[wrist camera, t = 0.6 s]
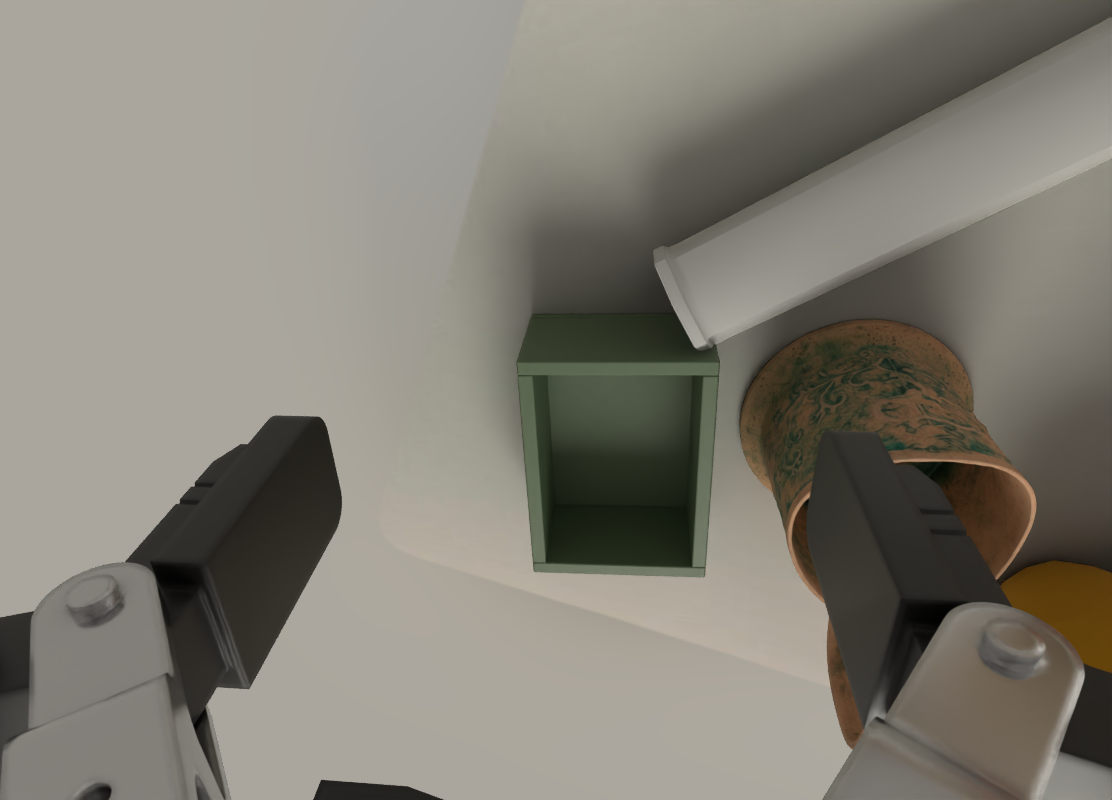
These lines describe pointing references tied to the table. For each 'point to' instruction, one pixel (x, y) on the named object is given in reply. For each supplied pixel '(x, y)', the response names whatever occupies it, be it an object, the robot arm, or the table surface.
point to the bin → (617, 443)
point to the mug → (906, 430)
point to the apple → (1069, 605)
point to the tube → (898, 192)
